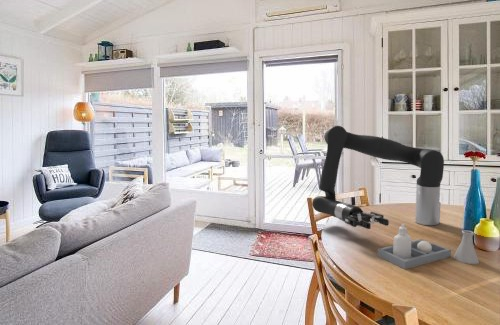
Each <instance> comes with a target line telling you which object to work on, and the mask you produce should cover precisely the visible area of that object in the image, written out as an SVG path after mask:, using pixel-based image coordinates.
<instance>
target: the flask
mask: <svg viewBox="0 0 500 325" xmlns="http://www.w3.org/2000/svg"><path fill="white" fill-rule="evenodd" d="M461 232H462V238H461V241H460V244H459V245H458V247H457V249H456V250H455V253H454V254H453V258H454V260H456V261H458V262H459V263H461V264H462V263H463V264H468V265H478V264H480V261H479V258H478V255H477V252H476V249H475V246H474V241H473V236H474V234H475V233H474V231H472V230H465V229H464V230H463V229H462V230H461Z"/></svg>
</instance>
